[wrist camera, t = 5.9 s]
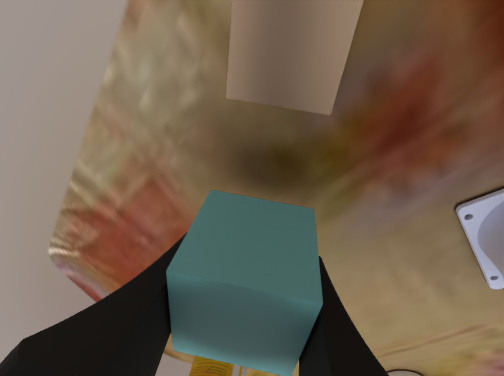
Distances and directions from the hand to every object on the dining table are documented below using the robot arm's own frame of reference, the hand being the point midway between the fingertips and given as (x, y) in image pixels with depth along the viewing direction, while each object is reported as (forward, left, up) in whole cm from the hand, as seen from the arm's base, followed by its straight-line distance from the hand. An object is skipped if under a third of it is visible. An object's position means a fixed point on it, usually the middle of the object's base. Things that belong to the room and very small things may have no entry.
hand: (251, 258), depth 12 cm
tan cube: (+7, -6, -9) cm, 12 cm away
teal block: (0, 0, -1) cm, 1 cm away
